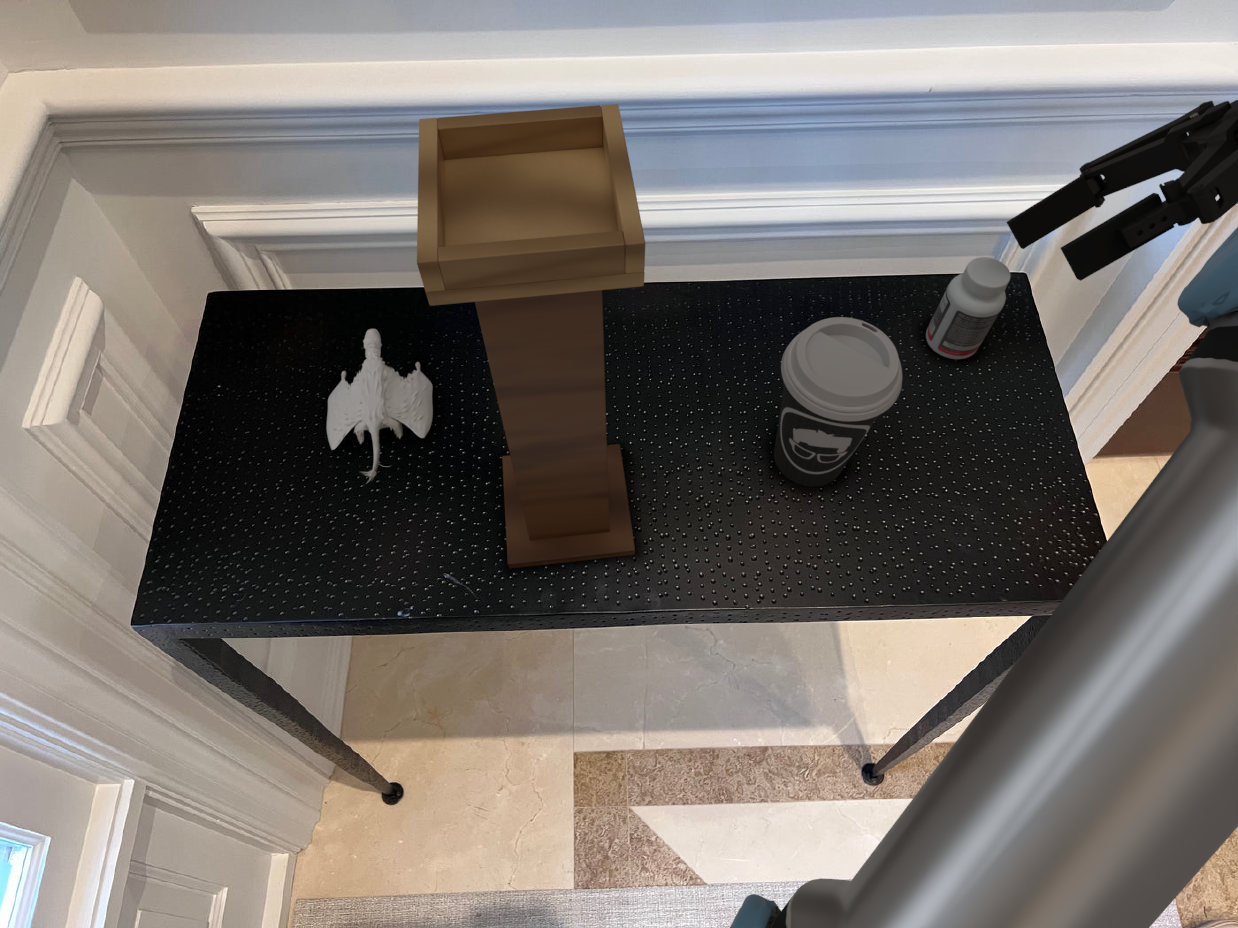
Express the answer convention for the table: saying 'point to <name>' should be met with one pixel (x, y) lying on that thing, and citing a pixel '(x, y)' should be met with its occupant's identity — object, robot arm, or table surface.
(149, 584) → the table surface
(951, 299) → the pill bottle
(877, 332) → the coffee cup
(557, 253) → the wooden tray stand
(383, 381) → the winged dragon toy
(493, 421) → the table surface
